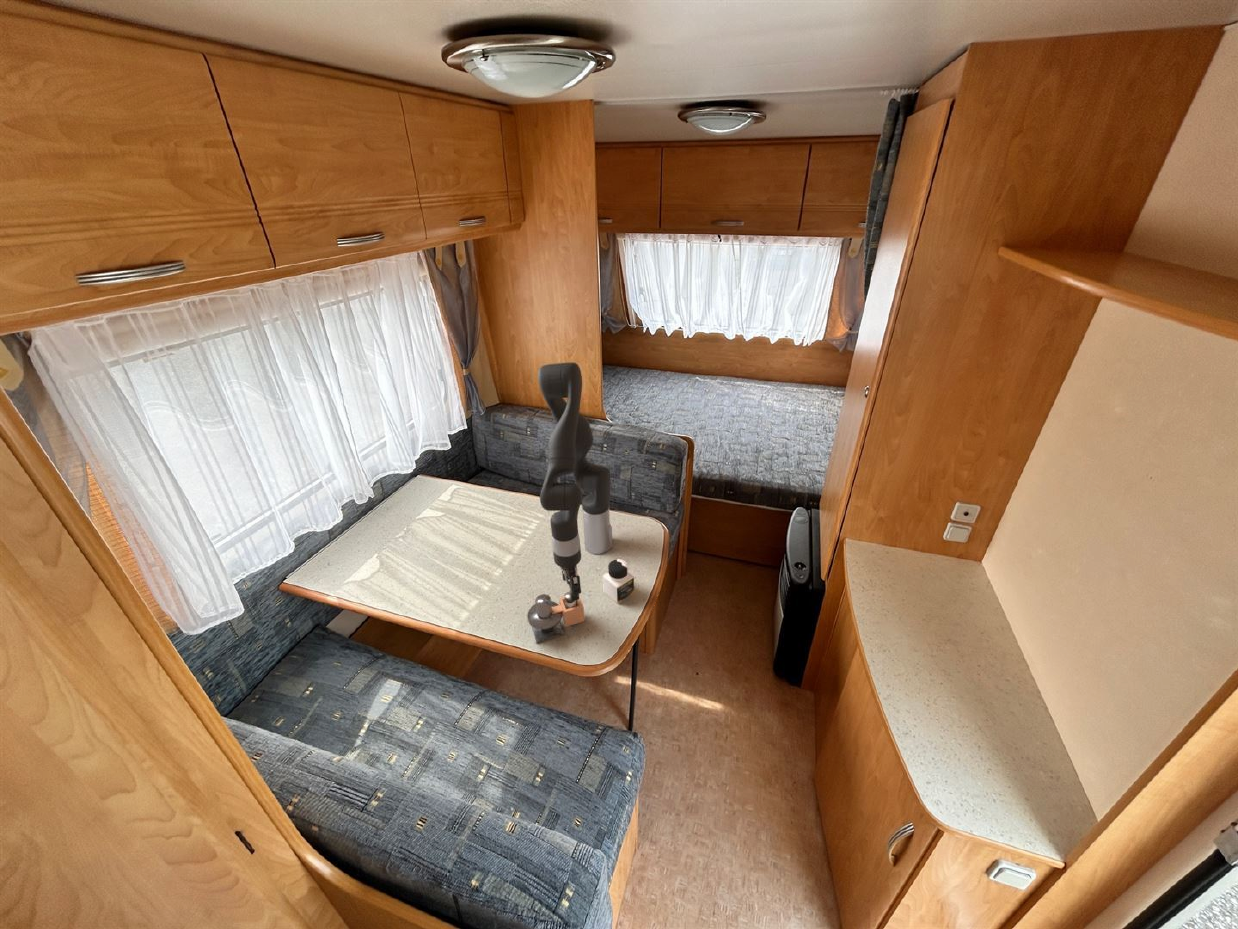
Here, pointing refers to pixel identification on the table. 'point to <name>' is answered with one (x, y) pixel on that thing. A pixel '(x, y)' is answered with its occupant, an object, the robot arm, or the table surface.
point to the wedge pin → (569, 602)
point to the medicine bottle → (618, 581)
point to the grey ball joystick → (544, 619)
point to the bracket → (570, 612)
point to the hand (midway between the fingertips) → (570, 589)
